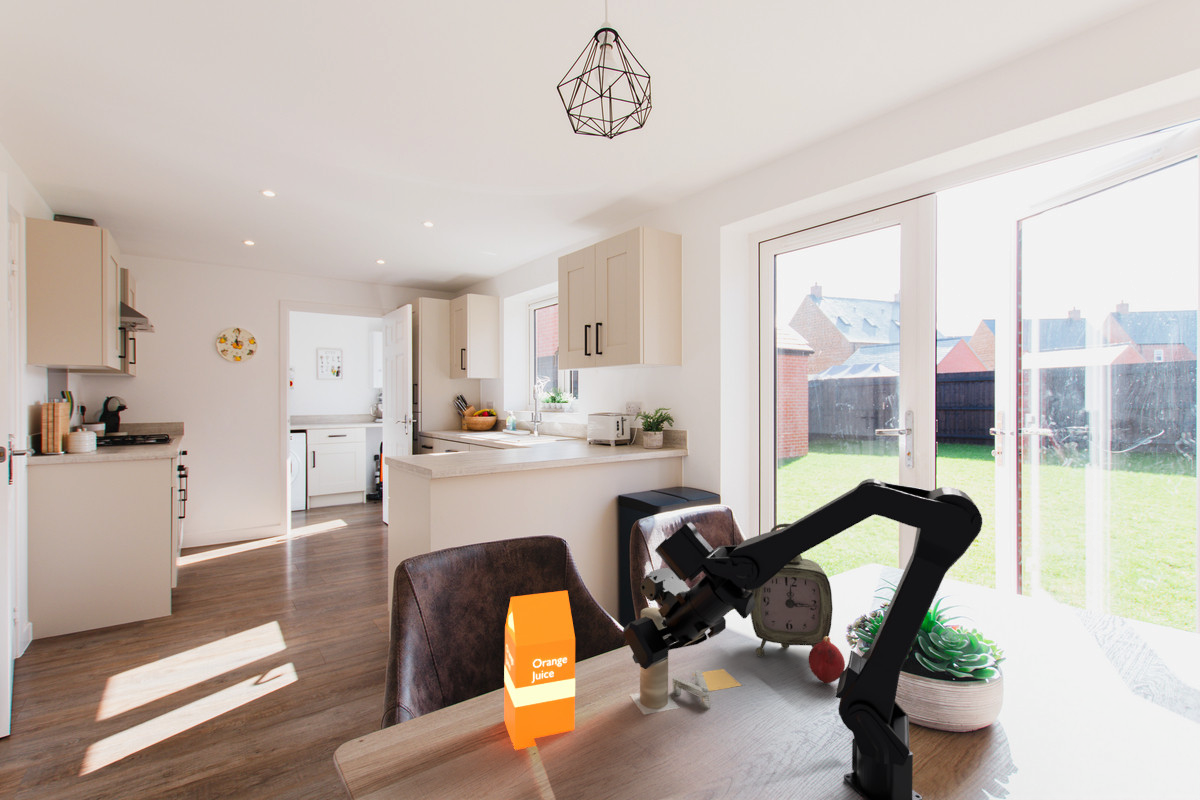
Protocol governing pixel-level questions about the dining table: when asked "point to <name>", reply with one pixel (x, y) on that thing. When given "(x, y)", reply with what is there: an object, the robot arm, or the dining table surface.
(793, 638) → the tabletop clock
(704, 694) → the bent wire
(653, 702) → the peg
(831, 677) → the onion
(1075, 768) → the dining table surface
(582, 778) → the dining table surface
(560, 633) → the orange juice
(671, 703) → the board
